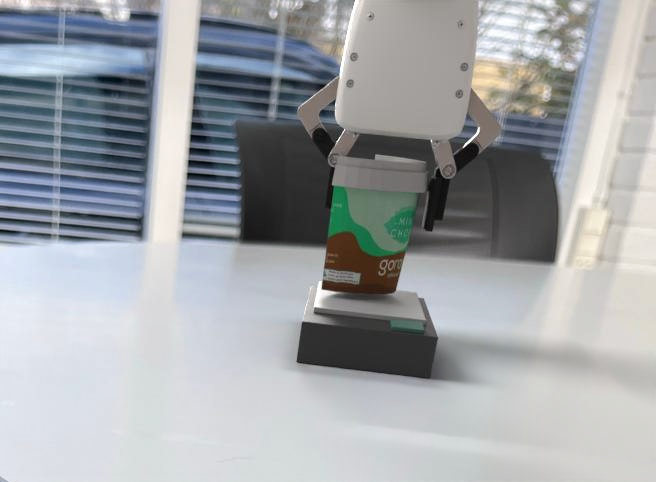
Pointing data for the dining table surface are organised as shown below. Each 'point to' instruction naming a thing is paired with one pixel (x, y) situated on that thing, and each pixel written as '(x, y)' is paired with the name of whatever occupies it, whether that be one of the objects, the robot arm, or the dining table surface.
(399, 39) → the robot arm
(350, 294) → the scale
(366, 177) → the food container
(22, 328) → the dining table surface
